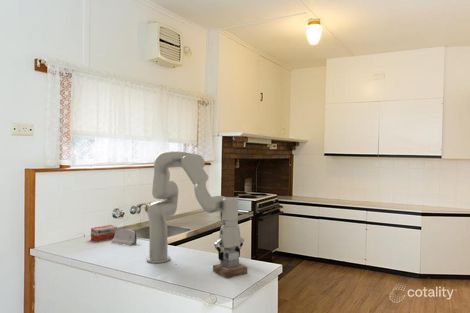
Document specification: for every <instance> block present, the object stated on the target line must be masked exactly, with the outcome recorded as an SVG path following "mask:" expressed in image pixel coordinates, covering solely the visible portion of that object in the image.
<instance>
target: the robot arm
mask: <svg viewBox="0 0 470 313" xmlns="http://www.w3.org/2000/svg"><path fill="white" fill-rule="evenodd" d="M205 164H206V162H205V159H204V157H203V156H202V155H200V154H197V153H191V152H185V151H173V150H172V151H163V152H161V153H159V154H157V155H156V157H155V159H154V162H153V180H152V189H151V192H152V196H153V198H154V199H156V200H158V201H154V202H152V203H151V204H150V205H149V206H148V207H147V216H148V224H149V231H148V232H149V252H148V253H149V256H147V257H146V262H147V263H151V264H162V263H166V262H169V261H170V260H171V256H170V255H168V223H167V221H166V218H169V217H172V216H174V215H175V214H176V212H177V208H178V200H179V187H178V185H177V183H176V182H175V181H173V180H170V177H171V172H170V170H169V168H182V169H183V171H184V172H185V174H186V175H187V176H188V178H189V180H190V181H191V183H192V184H193V186H194V189H193V191H194V195H195V198H196V200H197V203H199V205H200V207H201V208H202V209H203V210H204V211H205V212H206V213H209V214H214V213H217V212H221V211H222V212H221V214H222V216H221V217H222V218H221V221H220V223H219V224H220V225H221V226H220V231H219V237H218V240H216V241H215V242H214V243H213V245H214V248H215V250H217V252H218V260H219V261H220V260H221V261H223V256H224V253H223V250H224V248H232V247H236V248H235V251H237V252H239V258H240V257H241V249H242V247H243V245H244V242H245V238H243V237H241V229H240V225H238V222H239V220H238V219H239V218H238V216H239V210H238V209H239V200H238V198H237V197H233V196H228V197H227V196H223V195H214V196H212V195H211V194H210V193H209V191H208V189H207V181H208V180H209V175H208V174H207V173H206V171H205V169H204V167H205Z"/></svg>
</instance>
